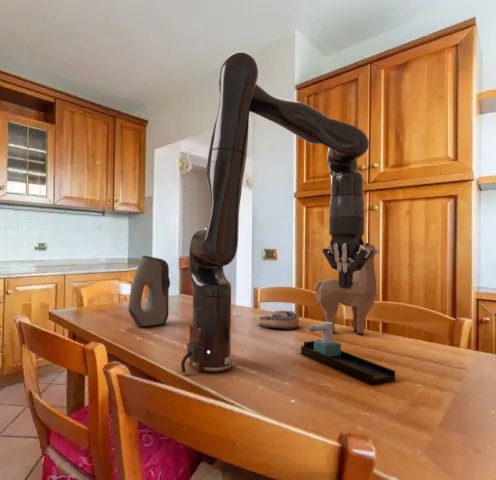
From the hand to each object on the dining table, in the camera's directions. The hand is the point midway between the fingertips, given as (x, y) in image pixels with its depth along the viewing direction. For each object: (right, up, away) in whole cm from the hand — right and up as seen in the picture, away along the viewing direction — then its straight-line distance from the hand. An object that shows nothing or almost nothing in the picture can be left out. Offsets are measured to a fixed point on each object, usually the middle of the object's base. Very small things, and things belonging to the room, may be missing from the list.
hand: (345, 288), depth 80 cm
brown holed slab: (-50, -19, +39) cm, 66 cm away
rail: (0, -19, +1) cm, 19 cm away
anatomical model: (-3, -20, +41) cm, 45 cm away
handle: (-3, -18, +5) cm, 19 cm away
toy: (+16, -20, +32) cm, 41 cm away
